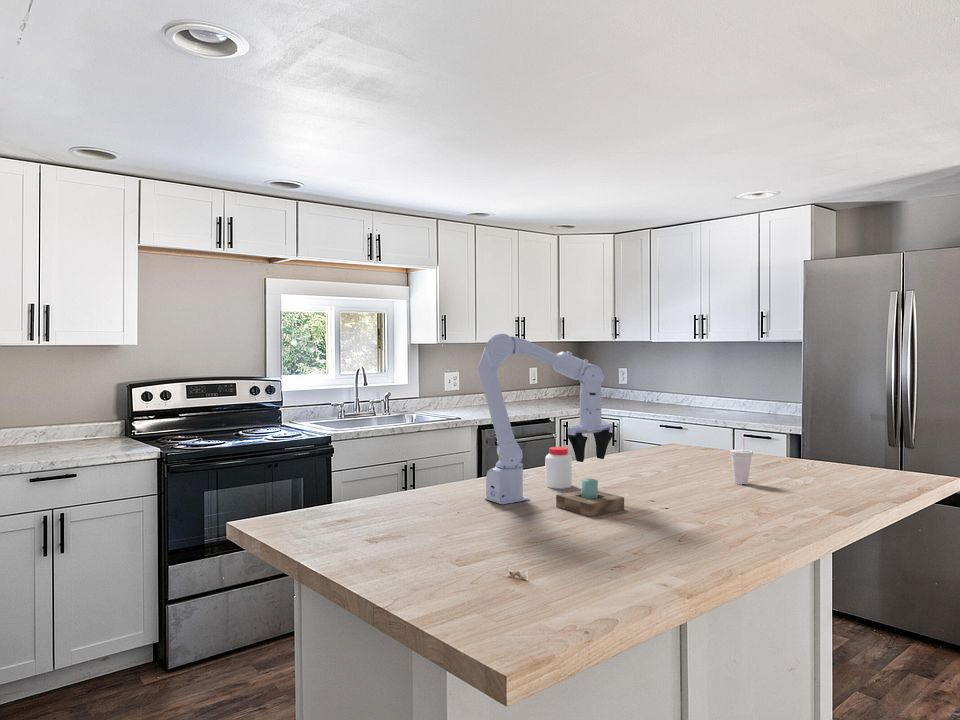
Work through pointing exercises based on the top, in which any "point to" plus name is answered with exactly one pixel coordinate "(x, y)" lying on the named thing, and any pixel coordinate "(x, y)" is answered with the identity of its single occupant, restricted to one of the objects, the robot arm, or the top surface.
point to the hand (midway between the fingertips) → (590, 460)
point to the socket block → (590, 503)
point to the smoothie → (741, 464)
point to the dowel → (589, 489)
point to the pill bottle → (558, 468)
